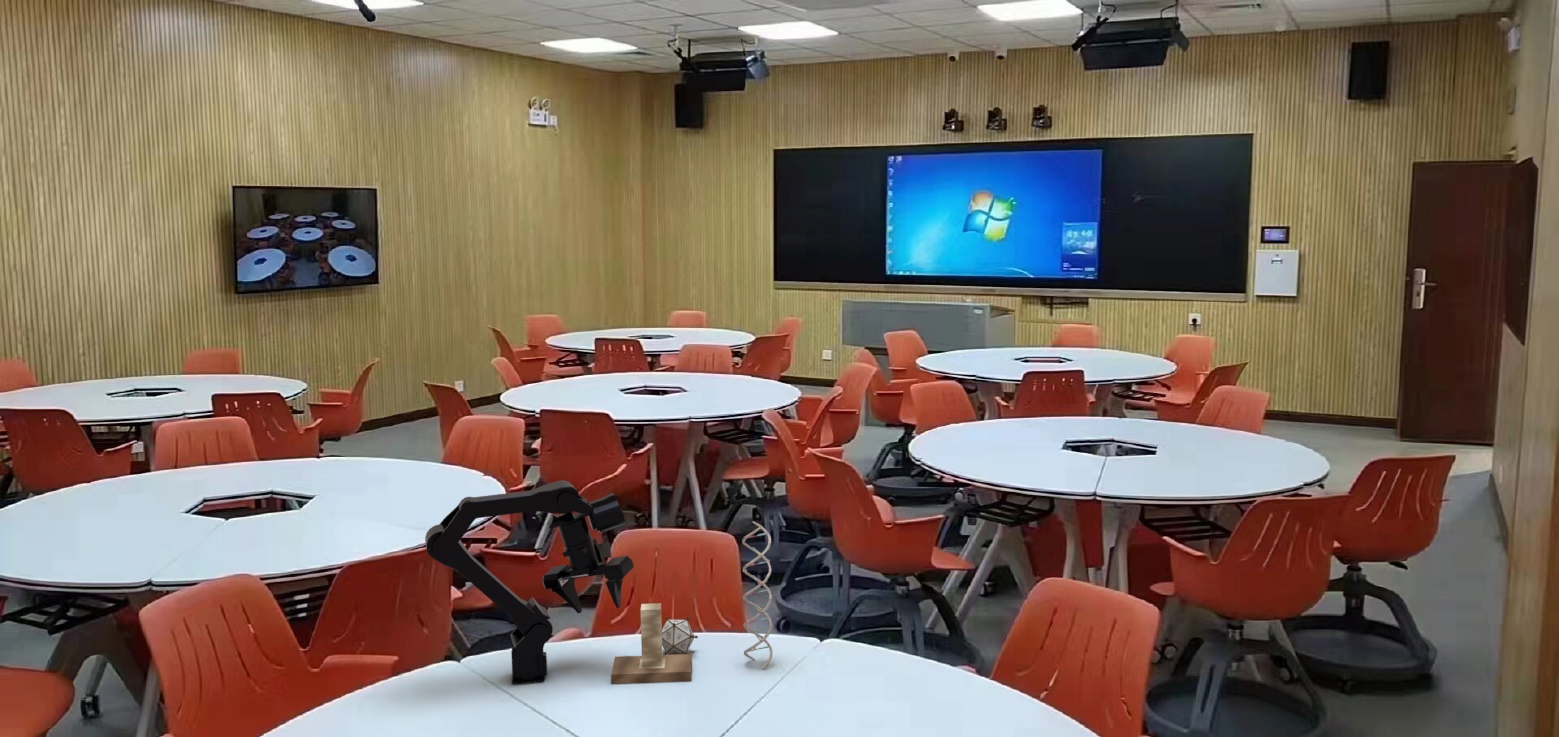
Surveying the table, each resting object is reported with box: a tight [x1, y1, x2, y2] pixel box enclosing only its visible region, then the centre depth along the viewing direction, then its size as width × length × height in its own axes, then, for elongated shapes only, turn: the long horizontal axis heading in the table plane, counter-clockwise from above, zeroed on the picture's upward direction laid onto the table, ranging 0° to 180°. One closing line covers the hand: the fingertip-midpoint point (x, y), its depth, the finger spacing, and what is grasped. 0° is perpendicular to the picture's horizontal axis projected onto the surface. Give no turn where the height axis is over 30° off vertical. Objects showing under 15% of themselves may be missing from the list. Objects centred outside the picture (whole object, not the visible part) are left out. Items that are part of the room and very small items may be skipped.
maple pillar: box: [640, 602, 663, 667], centre depth 238 cm, size 4×4×12 cm
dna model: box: [741, 520, 774, 670], centre depth 241 cm, size 7×6×30 cm
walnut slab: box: [610, 653, 693, 685], centre depth 239 cm, size 16×10×2 cm, turn 93°
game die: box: [662, 615, 699, 655], centre depth 250 cm, size 9×8×10 cm
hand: (599, 609), depth 241 cm, fingers open, 9 cm apart
